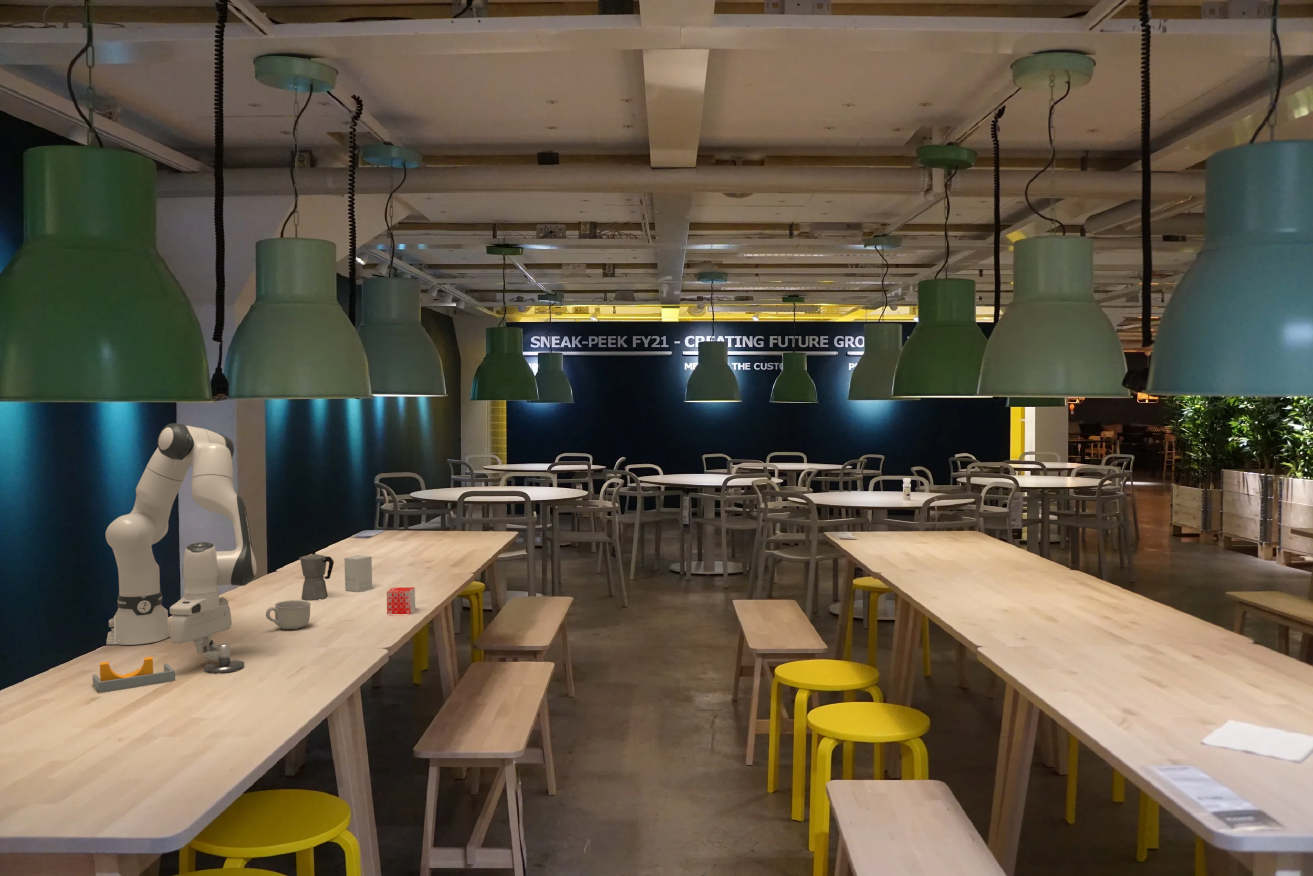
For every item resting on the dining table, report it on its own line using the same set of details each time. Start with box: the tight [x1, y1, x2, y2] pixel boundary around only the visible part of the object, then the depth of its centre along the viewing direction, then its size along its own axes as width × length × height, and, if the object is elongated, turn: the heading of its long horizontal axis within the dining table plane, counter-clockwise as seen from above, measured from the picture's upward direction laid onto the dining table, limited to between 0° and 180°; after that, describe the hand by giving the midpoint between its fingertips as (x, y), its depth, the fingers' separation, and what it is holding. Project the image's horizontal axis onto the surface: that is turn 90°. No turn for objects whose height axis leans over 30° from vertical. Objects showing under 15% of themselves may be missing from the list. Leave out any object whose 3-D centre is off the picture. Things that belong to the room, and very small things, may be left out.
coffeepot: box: [298, 548, 335, 601], centre depth 373 cm, size 15×9×18 cm, turn 68°
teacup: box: [265, 599, 311, 631], centre depth 325 cm, size 14×11×8 cm
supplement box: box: [343, 555, 373, 593], centre depth 389 cm, size 7×7×13 cm
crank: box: [203, 639, 231, 666], centre depth 280 cm, size 12×3×5 cm, turn 46°
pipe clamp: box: [99, 656, 154, 681], centre depth 263 cm, size 12×4×6 cm, turn 117°
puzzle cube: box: [386, 586, 416, 615], centre depth 347 cm, size 8×8×8 cm
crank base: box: [203, 659, 245, 675], centre depth 277 cm, size 10×10×1 cm
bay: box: [92, 663, 176, 693], centre depth 264 cm, size 10×18×2 cm, turn 127°
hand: (202, 652), depth 281 cm, fingers closed
